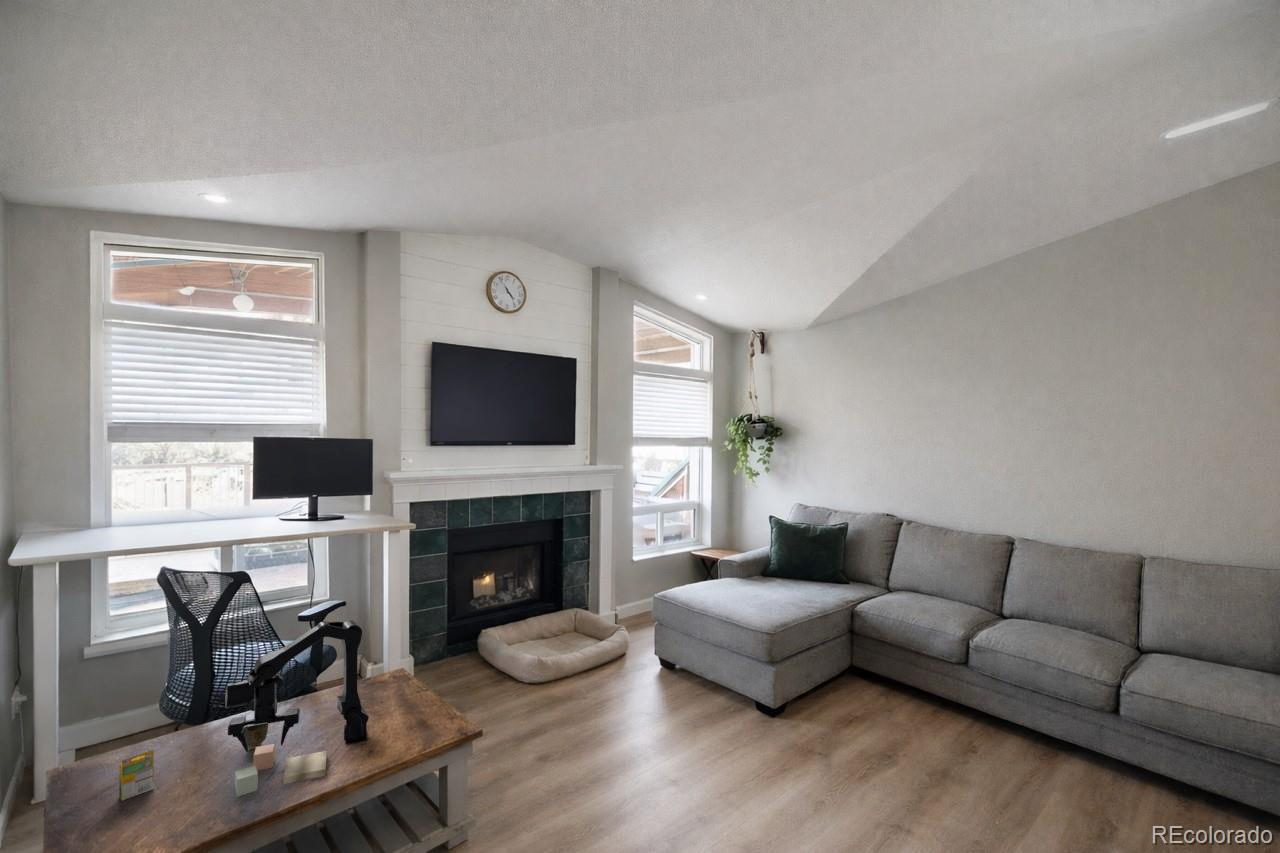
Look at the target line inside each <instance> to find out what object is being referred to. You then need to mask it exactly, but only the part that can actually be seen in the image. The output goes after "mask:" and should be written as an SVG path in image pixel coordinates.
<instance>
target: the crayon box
mask: <svg viewBox="0 0 1280 853" xmlns="http://www.w3.org/2000/svg"><path fill="white" fill-rule="evenodd" d="M154 750H155V749H152V750H148V751H145V752H142V753H139V754H136V755H133V756H130V757H127V758H124V759H121V762H119V764H118V765H119V767H118V768H119V769H118V770H119V791H118V792H119V793H118V796H119V797H118V798H119V799H120V801H121V802H123V801H125V800H127V799H131V798H133V797H136V796H138V795H140V794H144V793H147V792H150V791H153V790H154V789H155V788H154V787H155V786H154V784H155V783H154V782H155V781H154V780H155V779H154V778H155V776H154V772H155V767H154V766H155V765H154V764H155V763H154V762H155V759H154V755H155V754H154Z"/></svg>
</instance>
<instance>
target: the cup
mask: <svg viewBox="0 0 1280 853" xmlns="http://www.w3.org/2000/svg"><path fill="white" fill-rule="evenodd" d="M268 730H269V723H268V724H262V725H257V726H251V727H247V736H248V751H255V749H256V747H259V746H263V744H262V743H263V742H264V741H265V740H266V739H267V736H268Z"/></svg>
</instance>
